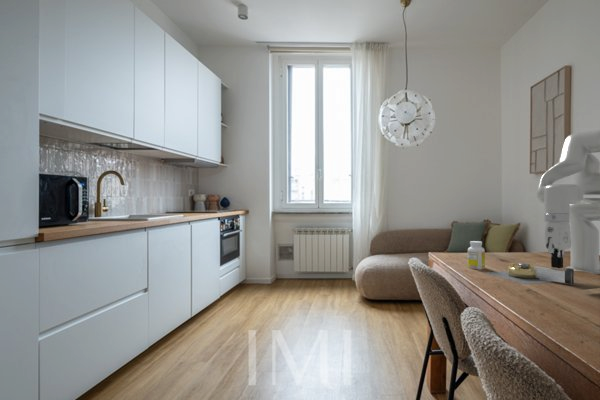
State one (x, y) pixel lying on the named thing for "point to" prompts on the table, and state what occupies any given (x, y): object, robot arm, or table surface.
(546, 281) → the base plate
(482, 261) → the supplement bottle
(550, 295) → the table surface
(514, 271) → the multicoloured piece
